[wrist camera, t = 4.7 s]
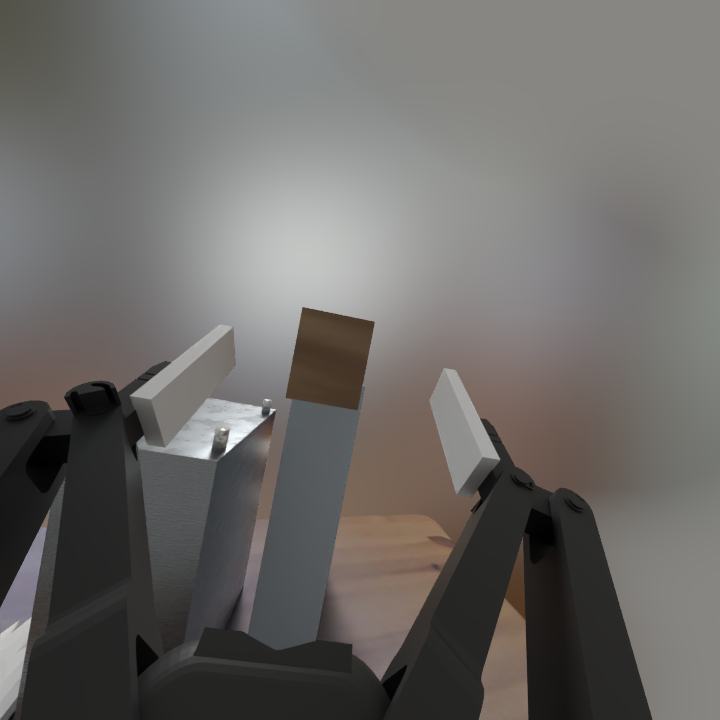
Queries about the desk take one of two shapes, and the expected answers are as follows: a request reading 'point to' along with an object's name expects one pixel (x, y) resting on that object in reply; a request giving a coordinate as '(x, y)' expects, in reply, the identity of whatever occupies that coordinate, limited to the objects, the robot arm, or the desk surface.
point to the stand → (303, 523)
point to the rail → (330, 359)
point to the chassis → (188, 521)
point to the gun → (11, 666)
